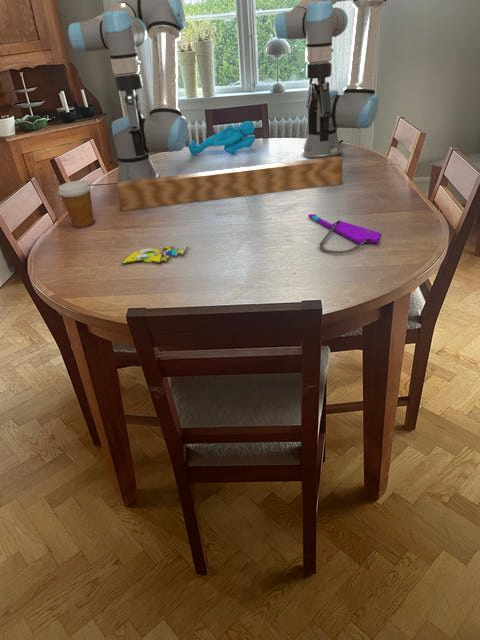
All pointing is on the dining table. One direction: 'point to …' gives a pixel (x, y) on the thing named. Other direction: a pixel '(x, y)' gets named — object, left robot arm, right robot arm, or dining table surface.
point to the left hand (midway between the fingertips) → (141, 150)
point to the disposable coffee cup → (77, 202)
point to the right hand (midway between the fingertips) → (318, 136)
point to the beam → (229, 183)
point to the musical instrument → (348, 233)
